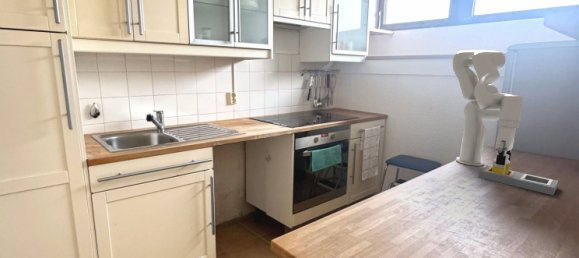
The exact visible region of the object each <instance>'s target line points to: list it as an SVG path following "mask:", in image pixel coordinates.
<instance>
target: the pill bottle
mask: <svg viewBox="0 0 579 258" xmlns="http://www.w3.org/2000/svg"><path fill="white" fill-rule="evenodd" d="M505 156H506V160H505V165H498V164H496V158H497V153H496V154H495V157H494V158H493V160H492V172H495V173H500V174H504V175H508V172H509V170H510V165H511V160H510V161H509V160H508V158H509V155H508V154H506V155H505Z"/></svg>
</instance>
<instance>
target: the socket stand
mask: <svg viewBox="0 0 579 258" xmlns="http://www.w3.org/2000/svg"><path fill="white" fill-rule="evenodd" d="M492 166H493V165H492ZM492 166H491V165H486V166H484V167H483V168H481V169H480V170H479V172H478V178H480V179H485V180H490V181H492V182H495V183H496V182H497V183H500V184H505V185H510V186H513V187H517V188H522V189H527V190H529V191H535V192H538V193H541V194H546V195H550V196H554V195H555V193H556V190H557V189H558V184H559V180H557V179H551V178H548V177H543V176H539V175H538V176H537V175H533V174H528V173H524V172H519V171H514V170H510V169H509V172H508V175H504V174H500V173H495V172H492Z"/></svg>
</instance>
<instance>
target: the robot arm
mask: <svg viewBox="0 0 579 258" xmlns="http://www.w3.org/2000/svg"><path fill="white" fill-rule="evenodd" d="M506 61H507V58H506V56H505V54H504V53H503V52H502V51H499V50H460V51H458V52H456V53H455V54H454V56H453V59H452V69H453V72H454V74H455V76H456V78H457V80H458V83H459V87H460V89H461V93H462V97H463V99H464V100H465V101H466V102H467V103H466V104H465V106H464V110H463V115H464V125H463V131H462V132H463V133H462V140H461V145H460V154H459V156H457V157H456V158H455V161H456V162H457V163H460V164H463V165H467V166H475V167H480V166H484V164H485V162H484V161H483V160H482V157H483V156H482V155H483V149H484V142H485V136H486V127H485V124H484V123H483V121H494V122H495V121H498V123H497V127H498V133H497V137H496V142H495V150H497V153H496V154H497V158H496V157H495V158H496V164H498V165H505V160H506V156H505V155H506V154H508V155H509V158H508V160H509V161H510V162H511V158H512V149H513V148H514V144H515V136H516V129H517V130H518V129H519V128H520V123H521V117H522V111H523V105H524V104H523V103H524V97H523V96H522V95H519V94H511V93H501V92H500V91H499V88H498V87H497V86H496V85H494V83H495V82H496V81H497V80H499V78H500V72H499V69H501V68H503V67H504V66H505V64H506ZM471 68H474V71H475V72H474V71H473V70H472V69H471Z"/></svg>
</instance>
